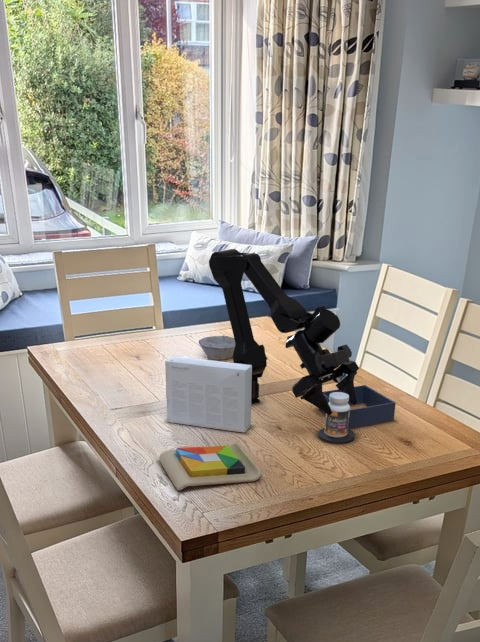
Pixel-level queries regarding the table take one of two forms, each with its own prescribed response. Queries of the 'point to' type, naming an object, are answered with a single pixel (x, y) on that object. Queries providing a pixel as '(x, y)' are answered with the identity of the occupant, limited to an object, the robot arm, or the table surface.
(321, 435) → the coaster
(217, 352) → the bowl
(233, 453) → the wooden puzzle
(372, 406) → the open box
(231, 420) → the skincare box
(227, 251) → the robot arm
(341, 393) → the pill bottle
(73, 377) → the table surface
